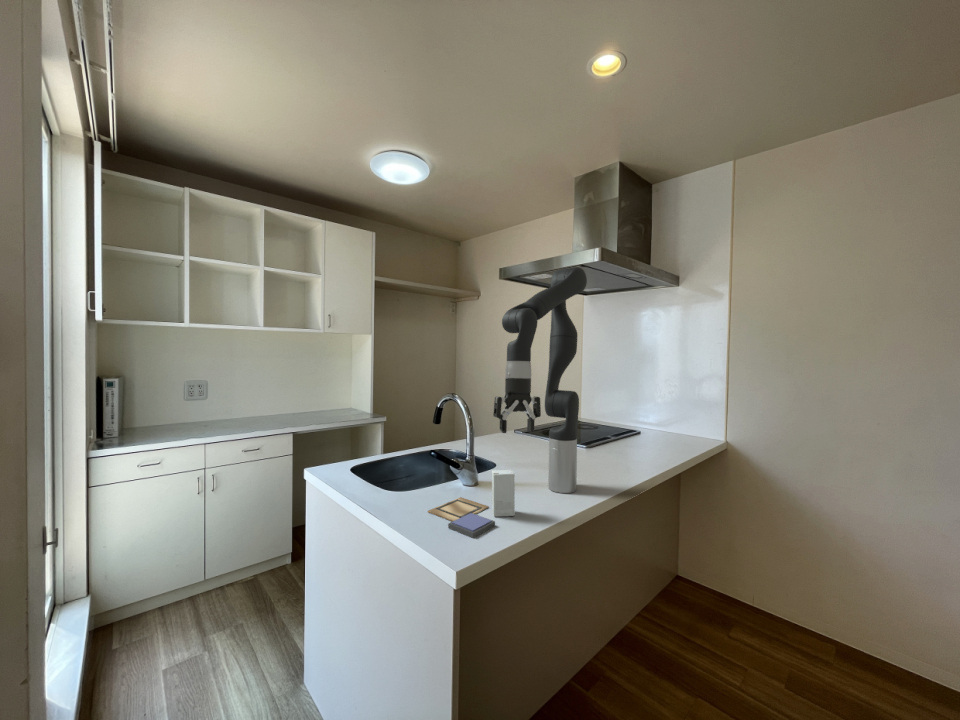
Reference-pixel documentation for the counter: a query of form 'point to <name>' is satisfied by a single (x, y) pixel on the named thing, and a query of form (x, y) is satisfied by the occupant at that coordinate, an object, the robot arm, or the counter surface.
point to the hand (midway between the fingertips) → (516, 432)
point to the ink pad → (471, 525)
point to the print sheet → (457, 509)
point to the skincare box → (503, 493)
